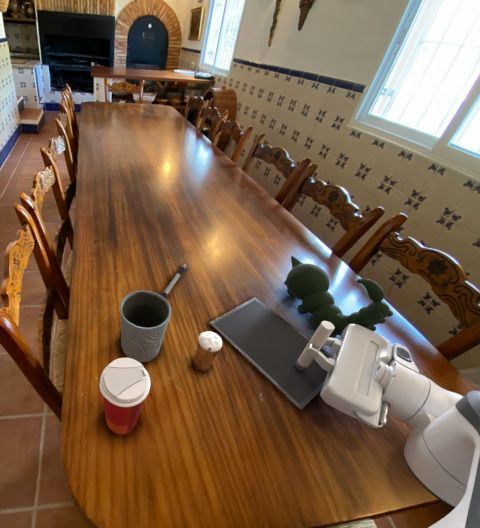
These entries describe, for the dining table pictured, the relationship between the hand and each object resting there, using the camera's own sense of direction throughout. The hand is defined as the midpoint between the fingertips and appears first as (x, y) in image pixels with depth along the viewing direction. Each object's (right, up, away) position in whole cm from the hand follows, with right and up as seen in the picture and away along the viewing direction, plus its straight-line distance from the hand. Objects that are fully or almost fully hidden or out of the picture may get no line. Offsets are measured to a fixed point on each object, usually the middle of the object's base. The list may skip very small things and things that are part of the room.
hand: (310, 342), depth 59 cm
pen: (-23, +10, +23) cm, 35 cm away
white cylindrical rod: (0, -6, +4) cm, 7 cm away
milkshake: (-21, -6, +4) cm, 22 cm away
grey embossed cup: (-34, -2, +7) cm, 34 cm away
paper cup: (-38, -12, -6) cm, 40 cm away
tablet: (-3, -3, +9) cm, 10 cm away
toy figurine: (+10, +3, +17) cm, 20 cm away
